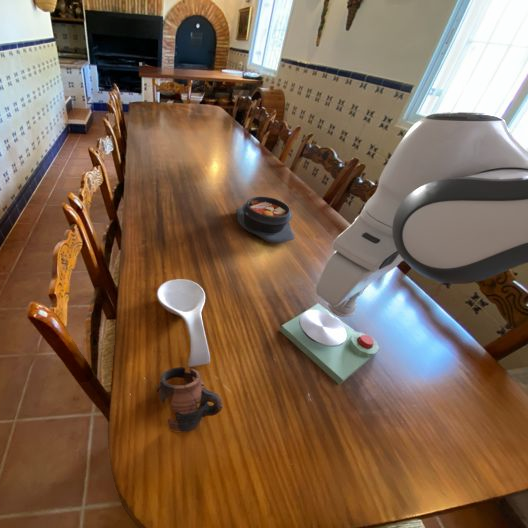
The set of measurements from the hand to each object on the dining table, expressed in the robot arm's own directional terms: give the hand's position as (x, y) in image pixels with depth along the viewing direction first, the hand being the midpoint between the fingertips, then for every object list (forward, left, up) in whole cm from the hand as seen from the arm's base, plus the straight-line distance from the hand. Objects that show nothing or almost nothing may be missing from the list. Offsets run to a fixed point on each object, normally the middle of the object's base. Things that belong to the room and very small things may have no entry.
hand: (346, 299), depth 52 cm
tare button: (-5, -12, -16) cm, 21 cm away
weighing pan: (+3, -7, -16) cm, 18 cm away
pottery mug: (+6, +28, -20) cm, 35 cm away
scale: (+1, -8, -20) cm, 21 cm away
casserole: (+44, -32, -20) cm, 58 cm away
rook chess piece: (0, 0, -3) cm, 3 cm away
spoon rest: (+22, +17, -20) cm, 34 cm away
